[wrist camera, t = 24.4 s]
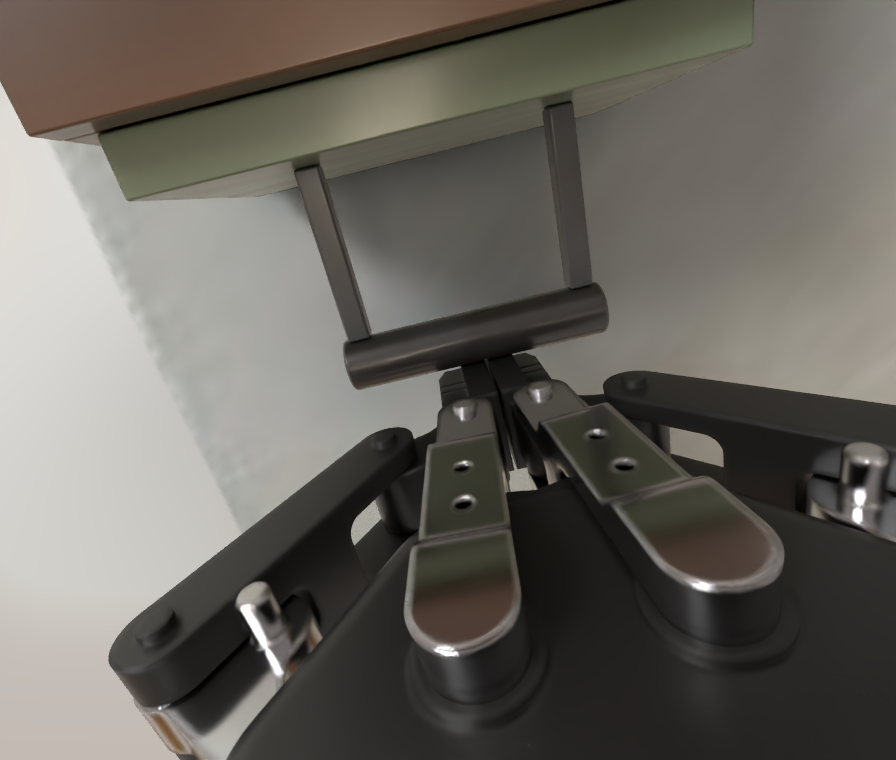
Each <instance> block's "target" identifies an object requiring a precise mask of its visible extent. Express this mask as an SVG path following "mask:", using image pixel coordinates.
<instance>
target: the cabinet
mask: <svg viewBox="0 0 896 760" xmlns="http://www.w3.org/2000/svg"><path fill="white" fill-rule="evenodd" d="M621 1H624V0H0V82H1V84H2V86H3V88H4V90H5V92H6V94H7V96H8V98H9V100H10V102H11V104H12V105H13V107H14V109H15V111H16V113H17V115H18V117H19V119H20V121H21V123H22V125H23V127H24V129H25V131H26V133H27V134H28V135H29V136H31V137H37V138H44V139H51V140H58V141H63V140H64V141H69V142H76V143H83V144H90V145H97V146H101V144H100V142H99V140H98V135H99V134H103V133H107V132H111V131H114V130H118V129H122V128H126V127H130V126H134V125H138V124H142V123H146V122H150V121H154V120H158V119H162V118H165V117H169V116H173V115H177V114H181V113H185V112H189V111H193V110H197V109H201V108H205V107H209V106H213V105H216V104H220V103H224V101H221V100H223V99H227V98H231V97H235V96H239V95H243V94H247V93H251V92H255V91H259V90H263V89H266V88H270V87H274V86H278V85H282V84H286V83H290V82H294V81H298V80H302V79H306V78H310V77H313V76H317V75H321V74H325V73H329V72H333V71H337V70H341V69H345V68H349V67H353V66H357V65H361V64H364V63H368V62H372V61H376V60H380V59H384V58H388V57H392V56H396V55H400V54H404V53H408V52H411V51H415V50H419V49H423V48H427V47H431V46H435V45H439V44H443V43H447V42H451V41H455V40H459V39H462V38H466V37H470V36H474V35H478V34H482V33H486V32H490V31H494V30H498V29H502V28H506V27H509V26H513V25H517V24H521V23H525V22H529V21H533V20H537V19H541V18H545V17H549V16H553V15H557V14H560V13H564V12H568V11H572V10H576V9H580V8H584V7H588V6H592V5H594V6H593V7H592V8H591V9H593V8H597V7H601V6H605V5H609V4H613V3H617V2H621Z"/></svg>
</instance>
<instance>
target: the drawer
mask: <svg viewBox="0 0 896 760" xmlns="http://www.w3.org/2000/svg"><path fill="white" fill-rule="evenodd" d="M593 6H594V5H592V6H588V7H584V8H580V9H576V10H572V11H568V12H564V13H560V14H557V15H553V16H549V17H545V18H541V19H537V20H533V21H529V22H525V23H521V24H517V25H513V26H509V27H506V28H502V29H498V30H494V31H490V32H486V33H482V34H478V35H474V36H470V37H466V38H464V39H463V40H462V41H461V42H460V43H456V44H452V45H448V46H444V47H440V48H436V49H432V50H428V51H424V52H420V53H417V54H413V55H409V56H405V57H401V58H397V59H393V60H389V61H385V62H381V63H377V64H373V65H369V66H366V67H361V66H359V65H357V66H353V67H349V68H345V69H341V70H337V71H333V72H329V73H325V74H321V75H317V76H313V77H310V78H306V79H302V80H298V81H294V82H290V83H286V84H282V85H278V86H274V87H270V88H266V89H263V90H259V91H255V92H251V93H247V94H243V95H239V96H235V97H231V98H227V99H223V100H221V101H224V103H220V104H216V105H213V106H209V107H205V108H201V109H197V110H193V111H189V112H185V113H181V114H177V115H173V116H169V117H165V118H162V119H158V120H154V121H150V122H146V123H142V124H138V125H134V126H130V127H126V128H122V129H118V130H114V131H111V132H107V133H103V134H99V135H98V140H99V142H100V144H101V146H102V148H103V150H104V153H105V155H106V157H107V159H108V161H109V163H110V166H111V168H112V170H113V172H114V174H115V177H116V179H117V181H118V183H119V185H120V187H121V190H122V192H123V194H124V196H125V198H126V200H127V201H152V200H179V199H206V198H233V197H259V196H263V195H267V194H271V193H275V192H279V191H283V190H287V189H291V188H295V187H298V188H299V191H300V194H301V197H302V200H303V203H304V206H305V209H306V212H307V215H308V219H309V222H310V225H311V228H312V231H313V234H314V237H315V240H316V243H317V246H318V249H319V252H320V255H321V259H322V262H323V265H324V268H325V271H326V274H327V277H328V280H329V283H330V286H331V289H332V292H333V296H334V299H335V302H336V305H337V308H338V311H339V314H340V317H341V320H342V323H343V326H344V329H345V332H346V336H347V339H348V340H347V341H345V342H344V345H343V356H344V362H345V366H346V370H347V373H348V376H349V379H350V381H351V383H352V385H353V386H354V388H355V389H357V390H361V389H365V388H370V387H374V386H378V385H382V384H386V383H391V382H395V381H399V380H403V379H408V378H412V377H416V376H420V375H424V374H429V373H433V372H437V371H441V370H446V369H450V368H454V367H458V366H462V365H467V364H471V363H475V362H479V361H483V360H488V359H492V358H496V357H500V356H505V355H509V354H513V353H517V352H521V351H526V350H530V349H534V348H538V347H543V346H547V345H551V344H555V343H559V342H564V341H568V340H572V339H576V338H580V337H585V336H589V335H593V334H597V333H602V332H604V331H605V330H606V329H607V327H608V322H609V313H608V305H607V301H606V298H605V295H604V292H603V290H602V288H601V287H600V285H599V284H598V283H597V282H593V281H592V272H591V263H590V254H589V245H588V235H587V226H586V217H585V208H584V199H583V190H582V180H581V171H580V162H579V153H578V144H577V135H576V125H575V118H576V117H580V116H584V115H588V114H592V113H596V112H598V111H601V110H603V109H605V108H608V107H610V106H612V105H615V104H617V103H619V102H621V101H624V100H626V99H628V98H631V97H633V96H635V95H638V94H640V93H642V92H645V91H647V90H649V89H652V88H654V87H656V86H658V85H661V84H663V83H665V82H668V81H670V80H672V79H675V78H677V77H679V76H682V75H684V74H686V73H688V72H691V71H693V70H695V69H698V68H700V67H702V66H705V65H707V64H709V63H712V62H714V61H716V60H718V59H721V58H723V57H725V56H728V55H730V54H732V53H735V52H737V51H739V50H742V49H744V48H746V47H749V46H750V45H752V44H753V29H754V0H624V1H621V2H617V3H613V4H609V5H605V6H601V7H597V8H593V9H591V8H592V7H593ZM540 126H544V129H545V137H546V145H547V152H548V160H549V167H550V175H551V182H552V190H553V198H554V205H555V213H556V220H557V228H558V235H559V243H560V251H561V258H562V266H563V273H564V281H565V285H566V286H567V288H563V289H559V290H555V291H551V292H547V293H542V294H538V295H534V296H530V297H526V298H522V299H517V300H513V301H509V302H505V303H501V304H497V305H492V306H488V307H484V308H480V309H476V310H472V311H467V312H463V313H459V314H455V315H451V316H447V317H442V318H438V319H434V320H430V321H426V322H422V323H417V324H413V325H409V326H405V327H401V328H397V329H392V330H388V331H384V332H380V333H376V334H372V335H371V331H372V330H371V327H370V324H369V321H368V317H367V314H366V311H365V307H364V304H363V301H362V297H361V294H360V291H359V287H358V284H357V281H356V277H355V274H354V271H353V268H352V264H351V261H350V258H349V254H348V251H347V248H346V244H345V241H344V238H343V234H342V231H341V228H340V225H339V221H338V218H337V215H336V211H335V208H334V205H333V201H332V198H331V195H330V191H329V188H328V185H327V182H326V180H327V179H331V178H335V177H339V176H343V175H347V174H351V173H355V172H359V171H363V170H367V169H371V168H375V167H379V166H383V165H387V164H391V163H395V162H399V161H403V160H407V159H411V158H415V157H419V156H423V155H427V154H431V153H435V152H440V151H444V150H448V149H452V148H456V147H460V146H464V145H468V144H472V143H476V142H480V141H484V140H488V139H492V138H496V137H500V136H504V135H508V134H512V133H516V132H520V131H524V130H528V129H532V128H536V127H540Z"/></svg>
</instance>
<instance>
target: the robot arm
mask: <svg viewBox="0 0 896 760" xmlns="http://www.w3.org/2000/svg"><path fill="white" fill-rule="evenodd" d="M439 383H440V391H441V400H442V408H441V410H440V411H439V413H438V420H437V427H436V428H435V429H434V430H432V431H431V432H429V433H427V434H425V435H423V436H420V437H418V438H416V439H414V438H413V435H412V432H411V431H410V430H408V429H406V428H400V427H396V428H388V429H384V430H381V431H378V432H375V433H373V434H371V435H370V436H368V437H366V438H365V439H364V440H362V441H361V442H360V443H358V444H357V445H356V446H355V447H353V448H352V449H351V450H349V451H348V452H347V453H346V454H344V455H343V456H342V457H341V458H339V459H338V460H337V461H335V462H334V463H333V464H332V465H330V466H329V467H328V468H326V469H325V470H324V471H323V472H321V473H320V474H319V475H317V476H316V477H315V478H314V479H312V480H311V481H310V482H308V483H307V484H306V485H305V486H303V487H302V488H301V489H299V490H298V491H297V492H296V493H294V494H293V495H292V496H290V497H289V498H288V499H287V500H285V501H284V502H283V503H282V504H280V505H279V506H278V507H276V508H275V509H274V510H273V511H271V512H270V513H269V514H267V515H266V516H265V517H264V518H262V519H261V520H260V521H258V522H257V523H256V524H255V525H253V526H252V527H251V528H249V529H248V530H247V531H246V532H244V533H243V534H242V535H240V536H239V537H238V538H237V539H235V540H234V541H233V542H231V543H230V544H229V545H228V546H226V547H225V548H224V549H223V550H221V551H220V552H219V553H217V554H216V555H215V556H214V557H212V558H211V559H210V560H208V561H207V562H206V563H205V564H203V565H202V566H201V567H199V568H198V569H197V570H196V571H194V572H193V573H192V574H191V575H189V576H188V577H187V578H185V579H184V580H183V581H181V582H180V583H179V584H178V585H176V586H175V587H174V588H173V589H171V590H170V591H169V592H167V593H166V594H165V595H164V596H162V597H161V598H160V599H159V600H157V601H156V602H155V603H153V604H152V605H151V606H149V607H148V608H147V609H146V610H144V611H143V612H142V613H140V614H139V615H138V616H137V617H136V618H134V619H133V620H132V621H131V622H130V623H129V624H128V625H127V626H126V627H125V628H124V629H123V631H122V632H121V633H120V634H119V635H118V637H117V638H116V640H115V642H114V643H113V645H112V647H111V649H110V653H109V664H110V666H111V667H112V669H113V670H114V671H115V673H116V674H117V675H118V677H119V678H120V680H121V681H122V682H123V683H124V685H125V686H126V688H127V689H128V690H129V692H130V693H131V694H132V696H133V697H134V703H135V705H136V707H137V708H138V709H139V711H140V712H141V713H142V715H143V716H144V718H145V719H146V720H147V722H148V723H149V724H150V726H151V727H152V728H153V730H154V731H155V732H156V733H157V735H158V736H159V738H160V739H161V740H162V742H163V743H164V744H165V746H166V747H167V748H168V749H169V750H170V751H171V752H173V753H175V754H176V755H177V756H178V758H179V759H180V760H896V405H889V404H882V403H875V402H868V401H860V400H853V399H846V398H839V397H831V396H824V395H817V394H810V393H802V392H795V391H788V390H781V389H773V388H766V387H759V386H752V385H744V384H737V383H730V382H723V381H715V380H708V379H701V378H694V377H686V376H679V375H672V374H665V373H657V372H650V371H628V372H623V373H619V374H616V375H614V376H611V377H610V378H608V379H607V380H606V381H605V382H604V384H603V388H604V394H600V395H585V396H583V395H577V394H576V393H575V392H574V391H573V390H572V389H571V388H570V387H569V386H568V385H567V384H566V383H565V382H563V381H560V380H554V379H551V377H550V376H549V375H548V373H547V372H546V371H545V369H544V368H543V366H542V365H541V364H540V362H539V361H538V359H537V358H536V357H535V356H532V355H530V354H527V353H522V354H518V355H512V354H509V355H505V356H500V357H496V358H492V359H488V360H483V361H479V362H475V363H471V364H467V365H462V366H461V368H460V369H456V370H452V371H448V372H445V373H444V374H443V375H442V377H441V378H440V380H439ZM669 427H673V428H678V429H682V430H687V431H691V432H696V433H700V434H705V435H708V436H710V437H712V438H713V439H715V440H716V441H717V442H718V443H719V444H720V446H721V447H722V449H723V454H724V468H723V467H720V466H716V465H712V464H708V463H704V462H701V461H697V460H693V459H689V458H686V457H682V456H678V455H674V454H671V449H670V433H669ZM510 450H511V452H510ZM511 453H512V456H513V459H514V461H515V464H516V467H517V469H521V468H525V467H527V469H528V474H529V479H530V483H531V487H532V489H533V490H530V491H515V492H511V490H510V486H509V480H510V474H509V471H513V470H514V466H513V462H512V457H511ZM374 500H375V501H376V504H377V507H378V510H379V512H380V515H381V518H382V519H381V520H380V521H379V522H378V523H377V524H376V525H375V526H374V527H373V528H372V529H371V530H370V531H369V532H368V533H367V534H366V535H365V536H364V537H363V538H362V539H361V540H360V541H359V542H358V543H357V544H356V545H355V546H354V544H353V542H352V539H351V528H352V524H353V522H354V520H355V519H356V517H357V516H358V515H359V514H360V513H361V512H362V511H363V510H364V509H365V508H366V507H367V506H368V505H370V504H371V503H372V502H373V501H374Z"/></svg>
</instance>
